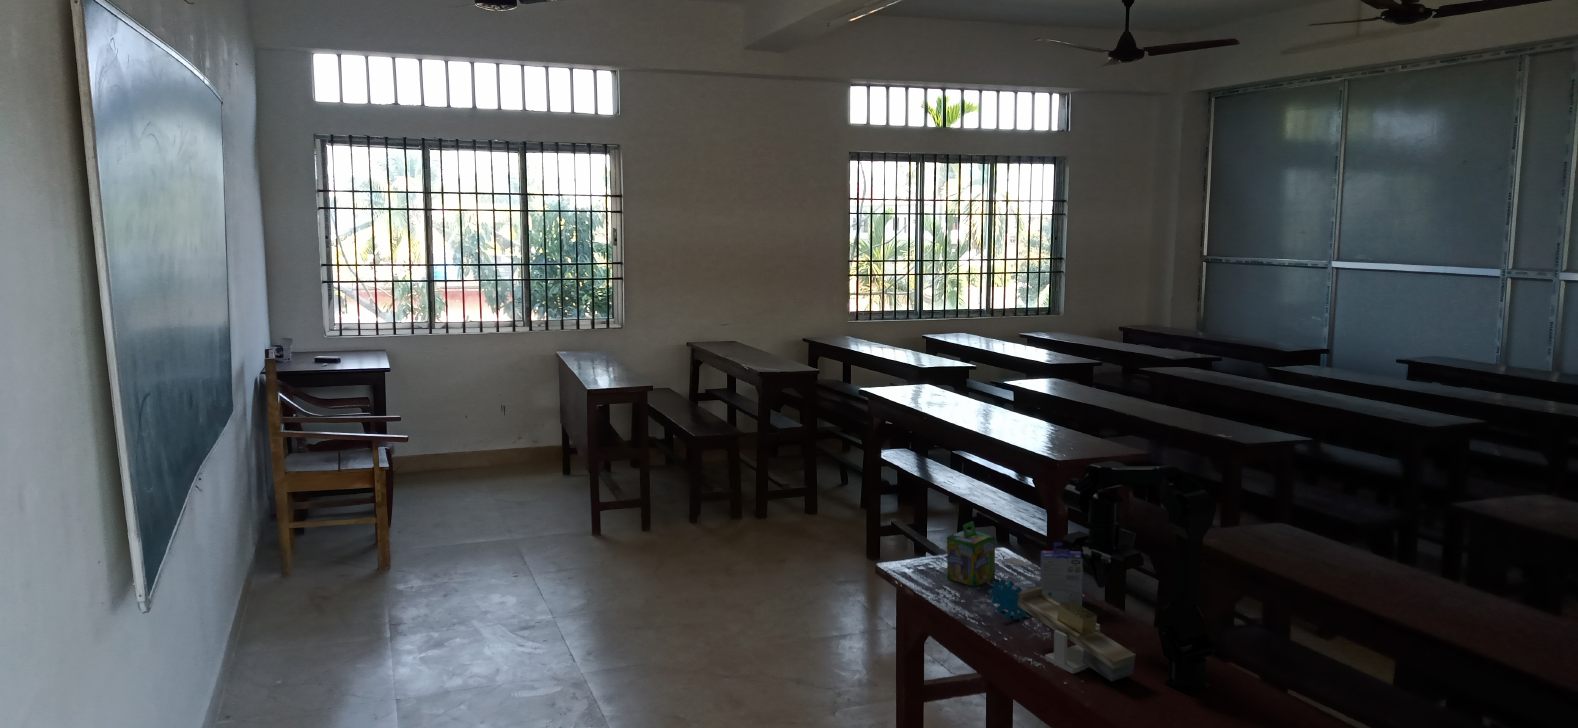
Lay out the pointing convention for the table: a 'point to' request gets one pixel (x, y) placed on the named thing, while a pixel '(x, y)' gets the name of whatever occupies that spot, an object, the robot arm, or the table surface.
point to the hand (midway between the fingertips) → (1101, 587)
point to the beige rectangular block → (1077, 618)
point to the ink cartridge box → (1062, 575)
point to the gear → (1007, 599)
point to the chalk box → (970, 556)
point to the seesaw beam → (1097, 646)
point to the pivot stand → (1067, 654)
